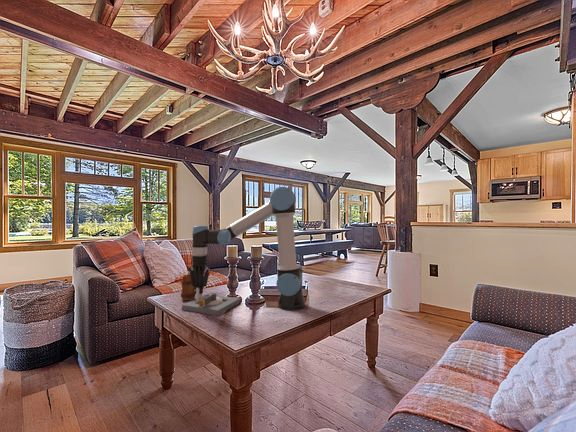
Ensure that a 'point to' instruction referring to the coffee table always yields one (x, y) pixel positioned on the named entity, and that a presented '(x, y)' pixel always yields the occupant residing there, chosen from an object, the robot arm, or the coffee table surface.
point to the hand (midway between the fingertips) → (198, 299)
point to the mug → (187, 288)
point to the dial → (210, 300)
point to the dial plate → (227, 304)
